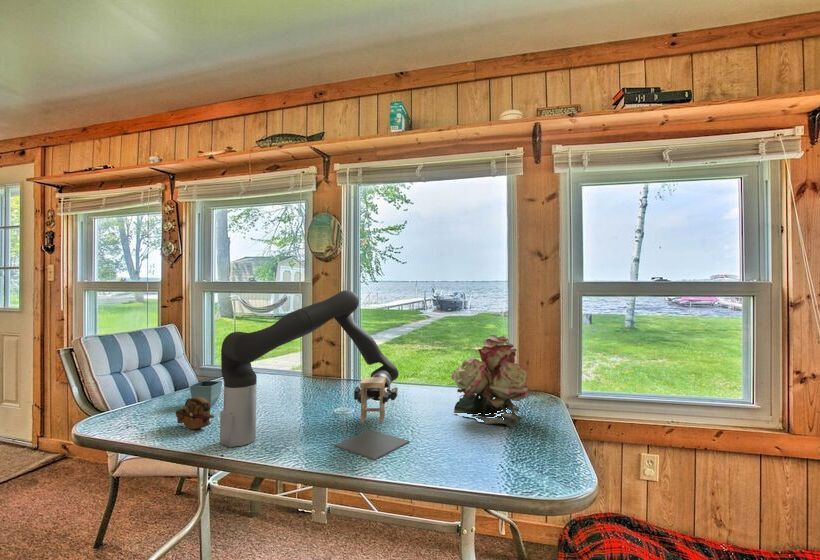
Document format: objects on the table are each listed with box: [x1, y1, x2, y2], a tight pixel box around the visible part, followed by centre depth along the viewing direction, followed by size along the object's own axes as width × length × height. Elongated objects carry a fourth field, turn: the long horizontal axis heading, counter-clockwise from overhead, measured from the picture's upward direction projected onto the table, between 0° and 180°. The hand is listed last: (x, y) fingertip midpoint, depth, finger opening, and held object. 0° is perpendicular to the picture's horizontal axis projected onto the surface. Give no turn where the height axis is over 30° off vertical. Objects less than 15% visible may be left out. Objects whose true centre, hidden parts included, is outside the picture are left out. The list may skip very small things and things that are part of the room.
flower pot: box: [189, 380, 223, 407], centre depth 156 cm, size 9×9×9 cm
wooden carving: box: [175, 397, 215, 430], centre depth 130 cm, size 16×5×10 cm, turn 70°
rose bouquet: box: [451, 334, 531, 428], centre depth 145 cm, size 26×29×30 cm
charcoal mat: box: [334, 429, 411, 461], centre depth 117 cm, size 16×16×1 cm
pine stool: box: [359, 376, 386, 424], centre depth 117 cm, size 7×7×12 cm
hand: (372, 400), depth 115 cm, fingers closed on pine stool, 6 cm apart
